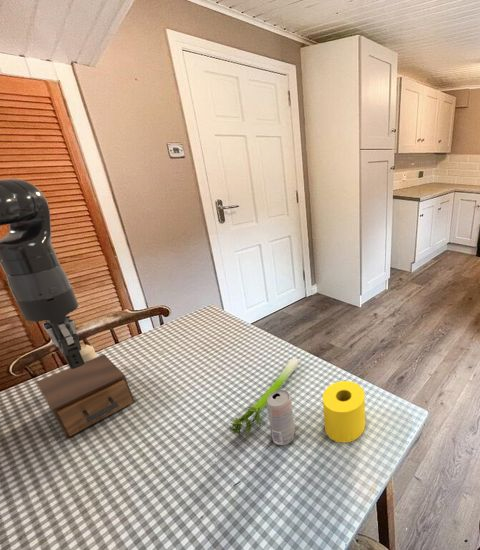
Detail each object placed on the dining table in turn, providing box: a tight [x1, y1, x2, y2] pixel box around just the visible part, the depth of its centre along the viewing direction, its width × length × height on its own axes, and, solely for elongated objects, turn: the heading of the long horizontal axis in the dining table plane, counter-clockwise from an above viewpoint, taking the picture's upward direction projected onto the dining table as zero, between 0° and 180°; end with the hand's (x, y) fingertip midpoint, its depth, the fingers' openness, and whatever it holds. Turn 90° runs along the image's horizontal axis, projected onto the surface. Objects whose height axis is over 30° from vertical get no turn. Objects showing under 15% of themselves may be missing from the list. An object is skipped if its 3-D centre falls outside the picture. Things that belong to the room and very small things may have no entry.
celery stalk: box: [229, 358, 301, 437], centre depth 83 cm, size 6×7×30 cm
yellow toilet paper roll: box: [322, 380, 366, 443], centre depth 74 cm, size 10×10×9 cm
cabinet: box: [36, 354, 135, 439], centre depth 80 cm, size 16×14×9 cm
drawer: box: [57, 380, 134, 437], centre depth 78 cm, size 19×13×7 cm
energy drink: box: [266, 389, 296, 446], centre depth 70 cm, size 5×5×12 cm
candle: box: [80, 344, 98, 362], centre depth 91 cm, size 6×6×10 cm
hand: (77, 365), depth 63 cm, fingers closed
